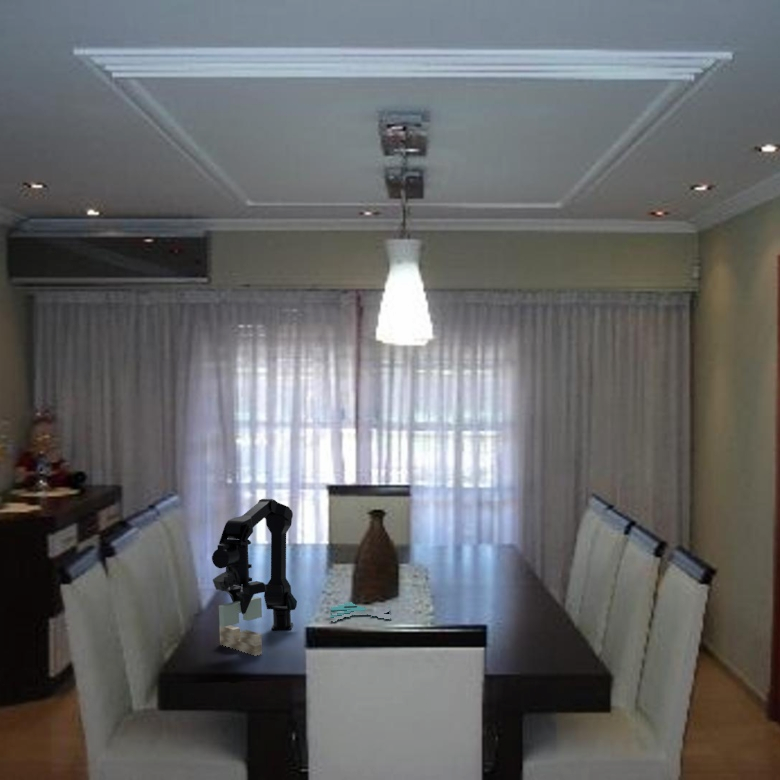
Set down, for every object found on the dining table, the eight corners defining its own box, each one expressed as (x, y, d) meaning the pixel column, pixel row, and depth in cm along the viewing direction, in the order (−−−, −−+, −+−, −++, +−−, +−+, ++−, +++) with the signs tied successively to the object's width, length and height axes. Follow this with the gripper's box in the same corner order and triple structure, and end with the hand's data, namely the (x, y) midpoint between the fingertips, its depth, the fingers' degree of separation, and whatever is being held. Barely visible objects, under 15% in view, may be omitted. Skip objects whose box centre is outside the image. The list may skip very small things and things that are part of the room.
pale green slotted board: (224, 626, 287) (223, 606, 287) (219, 625, 289) (218, 605, 289) (261, 617, 297) (261, 597, 297) (257, 615, 299) (256, 596, 299)
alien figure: (390, 621, 322) (388, 606, 342) (390, 614, 321) (388, 599, 341) (330, 623, 321) (331, 608, 341) (330, 617, 321) (331, 602, 341)
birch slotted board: (220, 644, 299) (219, 625, 299) (226, 643, 301) (225, 623, 300) (255, 656, 286) (254, 635, 286) (262, 654, 288) (261, 634, 288)
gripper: (198, 562, 293) (200, 613, 294) (235, 570, 280) (237, 623, 281) (229, 556, 301) (230, 606, 302) (266, 563, 288) (268, 615, 289)
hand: (240, 612), depth 293 cm, fingers closed on pale green slotted board, 2 cm apart
